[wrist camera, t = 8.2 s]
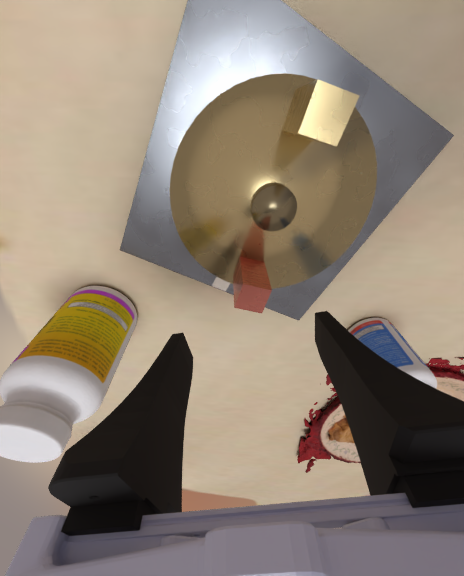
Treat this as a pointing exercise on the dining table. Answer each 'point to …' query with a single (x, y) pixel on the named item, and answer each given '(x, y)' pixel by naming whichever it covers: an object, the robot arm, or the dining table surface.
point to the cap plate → (253, 63)
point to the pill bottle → (392, 348)
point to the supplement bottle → (63, 373)
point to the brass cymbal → (273, 183)
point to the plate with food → (335, 430)
